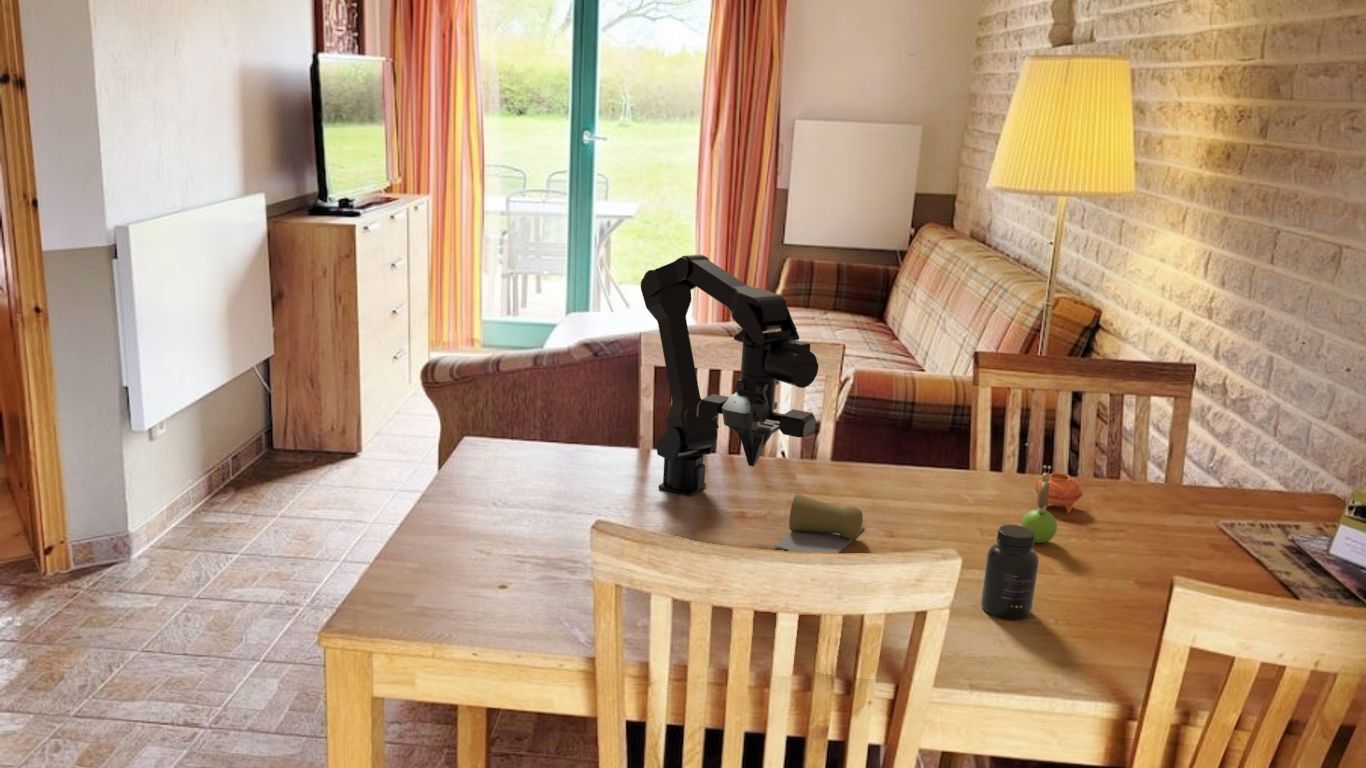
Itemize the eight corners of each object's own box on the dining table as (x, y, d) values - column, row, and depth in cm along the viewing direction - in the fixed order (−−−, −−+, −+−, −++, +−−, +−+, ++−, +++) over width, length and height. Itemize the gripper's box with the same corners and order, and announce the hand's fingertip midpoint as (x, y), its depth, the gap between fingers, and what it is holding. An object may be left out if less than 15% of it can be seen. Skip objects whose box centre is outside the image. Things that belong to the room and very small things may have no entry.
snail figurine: (1054, 536, 177) (1064, 467, 174) (1054, 550, 171) (1064, 480, 168) (1020, 530, 179) (1030, 462, 176) (1019, 544, 173) (1028, 474, 170)
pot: (1092, 510, 189) (1092, 476, 186) (1058, 525, 186) (1058, 491, 183) (1058, 493, 196) (1058, 460, 193) (1026, 507, 193) (1025, 474, 190)
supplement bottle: (973, 598, 153) (983, 520, 149) (1019, 599, 153) (1030, 521, 150) (990, 621, 146) (1001, 540, 143) (1038, 622, 147) (1051, 541, 143)
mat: (775, 548, 166) (775, 545, 166) (813, 516, 180) (813, 514, 180) (829, 562, 162) (830, 559, 162) (864, 528, 176) (864, 526, 176)
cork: (788, 537, 171) (856, 550, 168) (790, 504, 169) (859, 516, 166) (797, 519, 177) (863, 532, 173) (799, 487, 174) (866, 499, 171)
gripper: (683, 373, 168) (678, 467, 172) (793, 393, 159) (785, 492, 163) (714, 360, 177) (709, 449, 181) (820, 378, 169) (812, 471, 173)
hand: (751, 465), depth 174 cm, fingers closed
